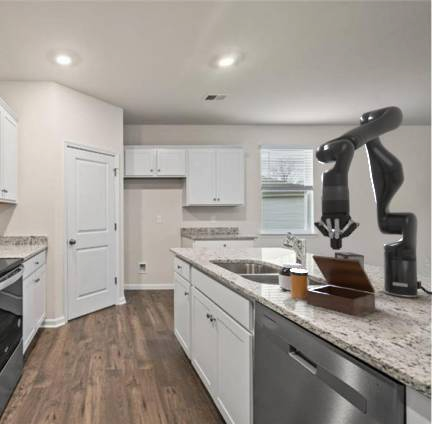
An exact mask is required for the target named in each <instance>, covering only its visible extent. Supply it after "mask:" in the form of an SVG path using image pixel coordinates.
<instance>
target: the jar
mask: <svg viewBox="0 0 432 424" xmlns="http://www.w3.org/2000/svg"><path fill="white" fill-rule="evenodd" d="M290 274H291V291H290V297H291V298H293V299H297V300H307V290H309V288H308V287H309V285H308V286H307V278H308V276H309V271H308V270H306V269H302V270H299V269H291V270H290Z"/></svg>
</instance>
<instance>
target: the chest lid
mask: <svg viewBox="0 0 432 424" xmlns="http://www.w3.org/2000/svg"><path fill="white" fill-rule="evenodd" d="M311 258H312V259H313V261H314V262H315V264H316V265H317V268H318V270H319V271H320V273H321V274H322V276H323V278H324V280H325V282H326V283H327V285H331V286H339V287H344V288H350V289H355V290H360V291H364V292H368V293H374V294H375V293H376V290H375V288H374V287H373V284H372V282H371V280H370V278H369V276H368V274H367V272H366V270H365V267H364V268H363V266H362V264H361V262H360V260H353V259H344V258H335V256H324V255H316V254H312V257H311Z"/></svg>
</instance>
